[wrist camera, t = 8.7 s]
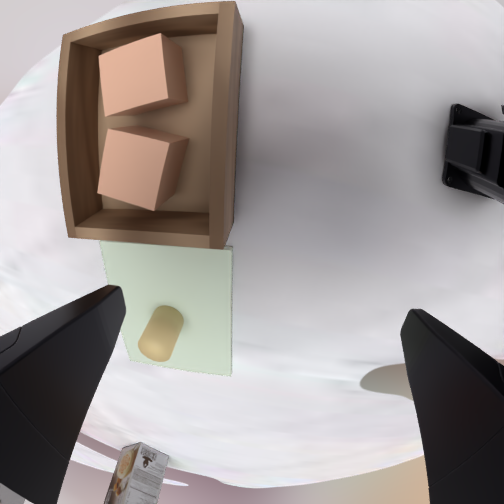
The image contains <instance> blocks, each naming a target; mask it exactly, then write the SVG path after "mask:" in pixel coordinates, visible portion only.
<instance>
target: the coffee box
mask: <svg viewBox="0 0 504 504" xmlns="http://www.w3.org/2000/svg"><path fill="white" fill-rule="evenodd" d="M168 458H169V456H168V455H165V454H163V453H161V452H159V451H157V450H155V449H153V448H151V447H149V446H147V445H145V444H143V443H141V442H140V443H137V444H134V445H131V446H128V447H125V448H122V451H121V454H120V457H119V460H118V462H117V465H116V468H115V471H114V474H113V477H112V480H111V483H110V486H109V489H108V492H107V495H106V498H105V501H104V504H157V502H158V498H159V494H160V490H161V485H162V482H163V478H164V473H165V470H166V466H167V462H168Z"/></svg>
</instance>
